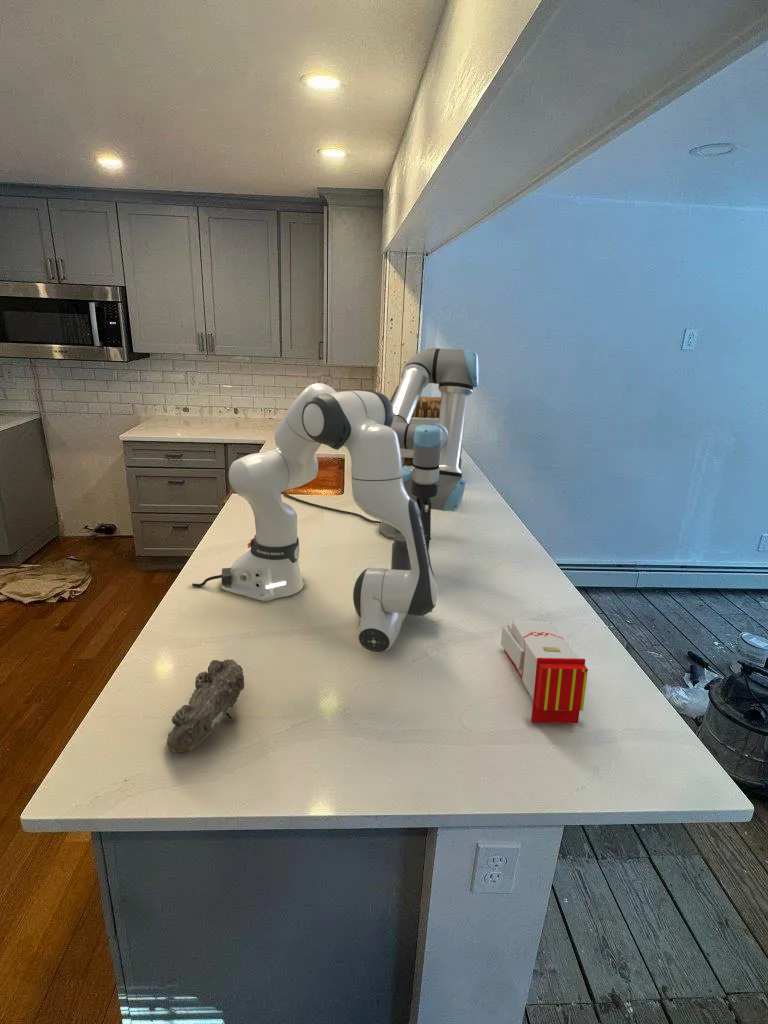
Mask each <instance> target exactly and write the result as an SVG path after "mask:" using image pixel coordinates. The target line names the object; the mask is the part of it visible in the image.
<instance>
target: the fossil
mask: <svg viewBox="0 0 768 1024" xmlns="http://www.w3.org/2000/svg"><path fill="white" fill-rule="evenodd" d="M243 670H244V669H243V667H242V665H240V664H237V662H236V661H235V660H234V659H232V658H231V659H227V658H226V659H224V660H223V661H222V660H217V659H212V660H211V661H210V663H209V665H208V666H207V671H201V672H199V673H198V674H197V675H196V676H195V680H194V684H195V685H194V687H195V689H194V690H193V693H192V694H191V697H190V698H189V700H188V704H184V705H182V706H181V707H180V709H177V710H176V711H175V713H174V715H173V716H172V718H171V723H172V724H173V727H172V730H171V731H170V732H168V734H167V738H166V741H167V742H166V745H167V749H168V750H169V751H173V752H174V753H176V754H178V753H182V752H188V751H189V752H192V751H193V750H195V748H196V747H197V746H199V744H200V743H201V742H203V741H204V740H205V739H206V738H207V737H208V736H209V735H210V734H211V733H212V732H214V730H215V729H217V727H218V726H219V724H220V722H221V721H222V720H223V719H224V718H225V716H226V717H227V719H229V720H233V717H232V715H230V714H229V710H230V709H231V708H234V706H235V704H236V703H237V702H238V699H239V697H240V695H241V693H242V691H243V690H245V689H244V688H245V675H244V671H243Z"/></svg>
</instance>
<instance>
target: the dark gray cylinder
mask: <svg viewBox="0 0 768 1024" xmlns="http://www.w3.org/2000/svg"><path fill="white" fill-rule="evenodd" d="M390 569H394V570H411V564H410V558H409V553H408V548H407V543H406V539H405V537H404V535H398V536H395V537H394V539H393V543H392V544H391V561H390Z"/></svg>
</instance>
